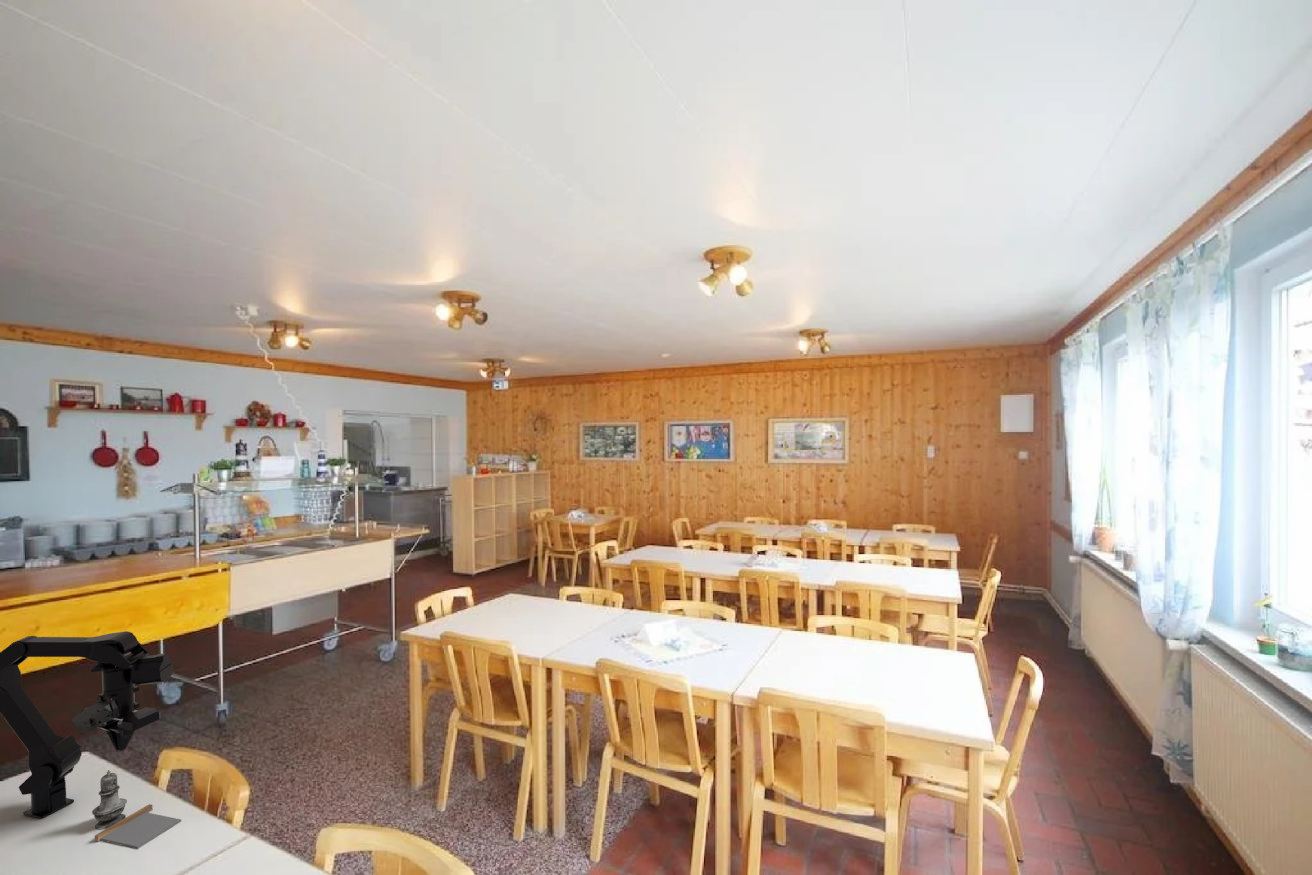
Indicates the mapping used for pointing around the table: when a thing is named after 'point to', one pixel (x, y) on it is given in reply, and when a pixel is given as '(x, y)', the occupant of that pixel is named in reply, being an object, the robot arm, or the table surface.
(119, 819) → the stone baluster finial
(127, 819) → the kerb
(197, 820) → the table surface
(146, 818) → the mat
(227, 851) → the table surface
